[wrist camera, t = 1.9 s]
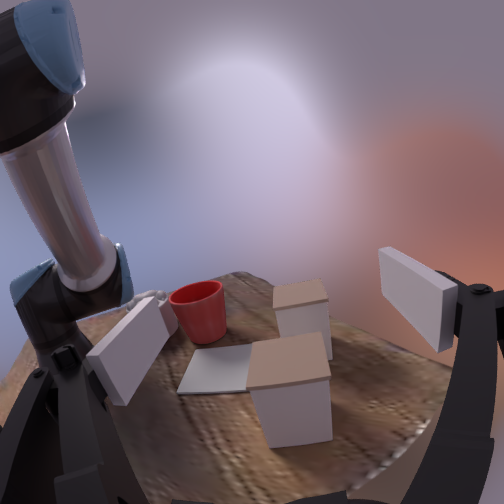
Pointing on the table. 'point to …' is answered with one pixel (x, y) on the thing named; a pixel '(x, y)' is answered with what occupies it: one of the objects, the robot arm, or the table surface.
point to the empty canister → (303, 310)
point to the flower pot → (201, 310)
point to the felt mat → (217, 370)
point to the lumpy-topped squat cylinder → (163, 306)
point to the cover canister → (291, 389)
